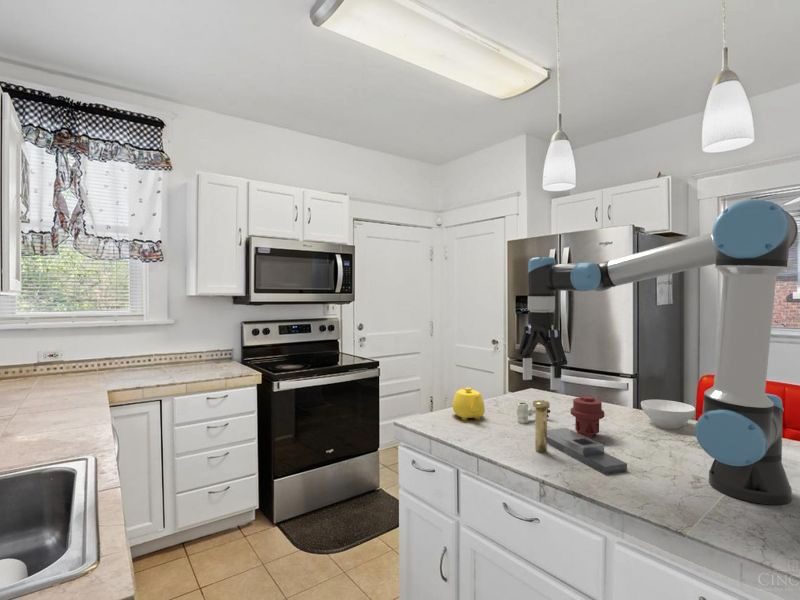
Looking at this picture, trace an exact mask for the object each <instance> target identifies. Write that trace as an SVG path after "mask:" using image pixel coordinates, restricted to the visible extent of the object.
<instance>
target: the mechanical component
mask: <svg viewBox="0 0 800 600" xmlns="http://www.w3.org/2000/svg"><path fill="white" fill-rule="evenodd" d="M572 400H573V401H572V404H573V405H572V407H571V408H570V415H572V416H573V417H574V418H575V420H574V421H575V424H574V425H575V428H574V429H575V432H576V433H579V434H581V435H583V436H585V437H587V438H590V439H592V438H593V437H594V436H596V435H597V434H599V433H600V420H602V419H603V418H605V411H604V410H603V409H602V406H603V405H602V401H601V400H600V399H597V398H594V397H593V396H590V395H581V396H580V397H576V398H574V399H572Z"/></svg>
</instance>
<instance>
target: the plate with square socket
mask: <svg viewBox="0 0 800 600" xmlns="http://www.w3.org/2000/svg"><path fill="white" fill-rule="evenodd" d="M547 445H550V446H551V447H553V448H555V449H557V450H559V451H560V452H562V453H564V454H566V455H568V456H570V457H572V458H574V459H575V460H577V461H578V462H581V463H583V464H585V465H586V466H588V467H590V468H592V469H594V470H596V471H597V472H599V473H601V474H602V475H611V474H616V473H617V474H618V473H623V472H628V463H627V462H625V461H623V460H621V459H619V458H617V457H615V456H613V455H610V454H608V453H606V452H605V444H602V443H600V442H598V441H596V440H594V439H592V438H591V439H590V438H587V437H585V436H583V435H581V434H579V433H577V431H574V430H572V429H569V428H568V427H563V428H554V429H547Z"/></svg>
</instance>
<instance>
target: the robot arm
mask: <svg viewBox="0 0 800 600" xmlns="http://www.w3.org/2000/svg"><path fill="white" fill-rule="evenodd" d="M798 232H799V228H798V223H797V221H796V219H795V218H794V216H792V214H791V213H789V212H788V211H787V210H785V209H784V208H783V207H781V205H779V204H778V203H775V202H772V201H771V200H770V201H769V200H764V199H762V200H761V199H746V200H742V201H739V202H736V203H733V204H731V205H729V206H728V207H727V208H725V209H724V210H723V211H721V213H720V214H719V215H718V216H717V218H716V219H715V221H714V223H713V225H712V230H711V232H709V233H706V234H702V235H699V236H698V235H697V236H695V237H691V238H687V239H683V240H680V241H676V242H672V243H668V244H665V245H662V246H658V247H654V248H651V249H646V250H643V251H640V252H636V253H633V254H629V255H625V256H621V257H618V258H614V259H610V260H607V261H603V262H599V263H595V262H584V261H583V262H571V263H557V262H556V259H555V257H551V256H549V257H548V256H547V257H546V256H545V257H544V256H543V257H542V256H541V257H540V256H539V257H532V258H529V260H528V268H527V269H528V270H527V284H528V286H527V310H528V312H527V324H528V325H525V326H524V327H523V335H522V338H521V341H520V345H519V347H518V351H517V354H518V355H520V356H521V358H522V380H523V381H528V380H533V357H532V354H533V353H534V351H535V349H536V348H537V345H538V344H540V345H542V346H543V347H544V349H545V351H546V353H547V355H548V357H549V360H550V362H551V365H550V384H549V385H550V388H549V389H550V390H551V391H556V390H557V391H558V390H561V382H562V381H561V380H562V379H561V378H562V367H563V366H567V365H568V359H567V356H566V352H565V349H564V346H563V343H562V339H561V332H560V330H559V329H552V326H554V325H555V324H556V313H555V312H554V311H555V310H556V292H558V291H559V292H560V291H561V292H562V291H565V292H567V291H568V292H570V291H571V292H588V291H589V292H590V291H595V292H603V291H606V290H609V289H611V288H615V287H619V286H623V285H626V284H632V283H637V282H640V281H644V280H649V279H654V278H659V277H662V276H667V275H672V274H676V273H680V272H687V271H689V270H695V269H698V268H702V267H707V266H712V265H715V267H714V268H715V269H717V270H718V271H719V272H720V273H721V274H722V288H721V296H720V297H721V299H720V307H719V308H720V311H719V320H718V322H719V323H718V331H717V343H716V354H715V366H714V378H713V386H711V387H710V388H708V389H706V390H705V391H704V394H703V403H702V414H701V415H700V416H699V418H698V419H697V421H696V424H695V428H694V429H695V430H694V431H695V438H696V440H697V443H698V444H699V446H700V447H701V449H702V450H703V451H704V452H705V453H706V455H708V456H709V457H710V458H712V459H714V460H713V461H712V464H711V466H710V469H709V471H708V483H709V484H710V486H711V487H712V488H714V489H715V490H717V491H718V492H721V493H722V494H725V495H727V496H729V497H733V498H736V499H739V500H743V501H746V502H751V503H756V504H762V505H771V506H772V505H773V506H774V505H775V506H777V505H785V504H786V505H787V504H789V503H791V502H792V501H793V500H792V499H793V498H792V497H793V496H792V495H793V494H792V493H793V491H792V486H791V485H790V482H789V479H788V476H787V474H786V471H785V468H784V465H783V460H782V457H783V412H784V410H785V409H784V407H783V400H782V398H781V397H780V396H778V395H776V394H770V393H766V389H767V388H766V387H767V375H768V365H769V355H770V354H769V353H770V346H771V345H770V344H771V335H772V334H771V333H772V325H773V315H774V314H773V313H774V303H775V291H776V285H777V283H776V282H777V281H776V280H777V277H778V276H779V275H780V274H782V273H783V272H784V271H785V270H787V269H788V263H789V262H788V261H789V253H790V249H791V248H792V247H793V246H794V244H795V242H796V240H797V237H798V234H799V233H798Z"/></svg>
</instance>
